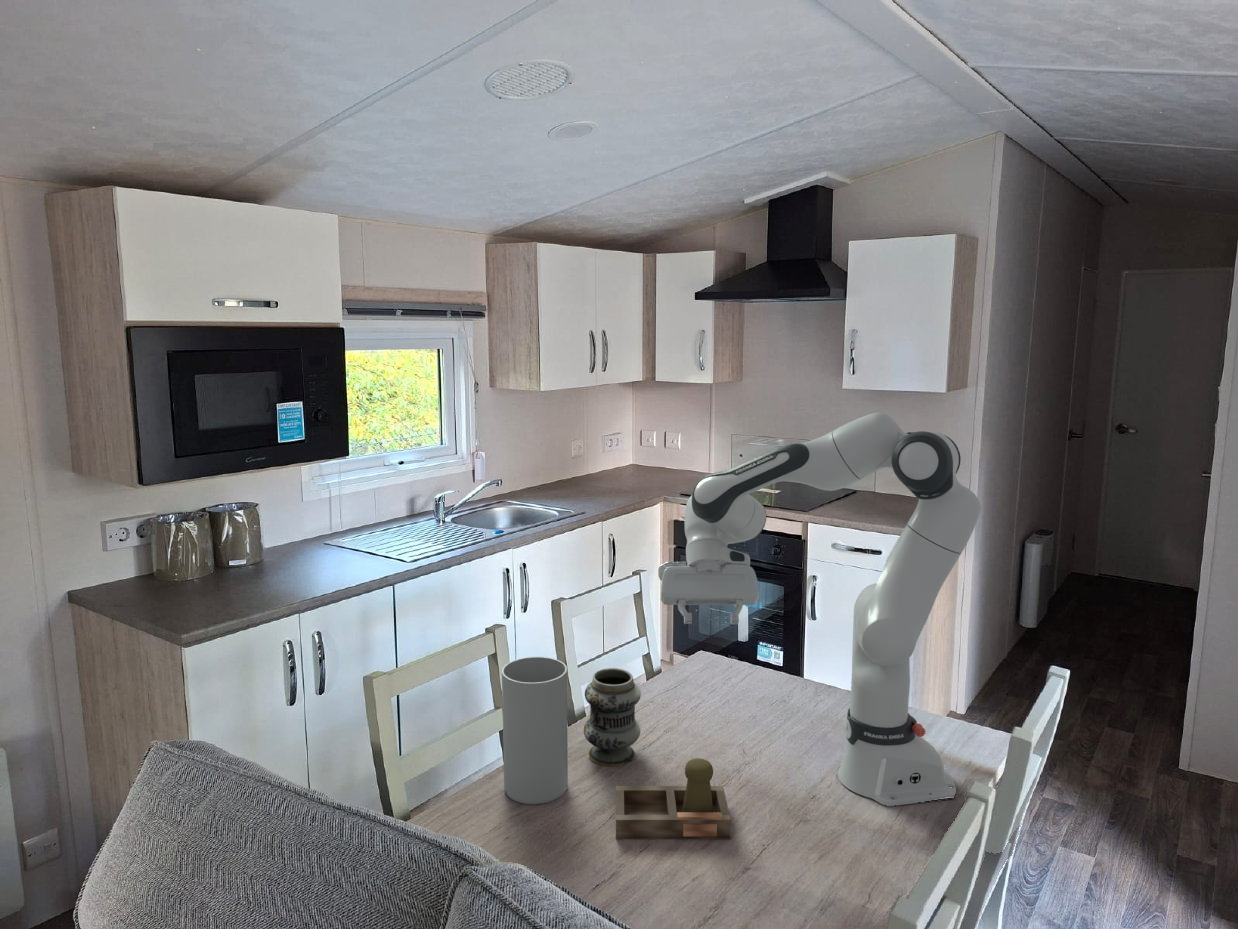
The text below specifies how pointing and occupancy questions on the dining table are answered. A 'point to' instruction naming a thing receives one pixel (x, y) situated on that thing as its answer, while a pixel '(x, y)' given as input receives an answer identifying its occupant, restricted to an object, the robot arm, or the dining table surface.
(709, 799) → the olive round-topped post
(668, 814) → the spice rack
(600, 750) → the apothecary jar
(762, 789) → the dining table surface
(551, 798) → the cylinder vase
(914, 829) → the dining table surface
